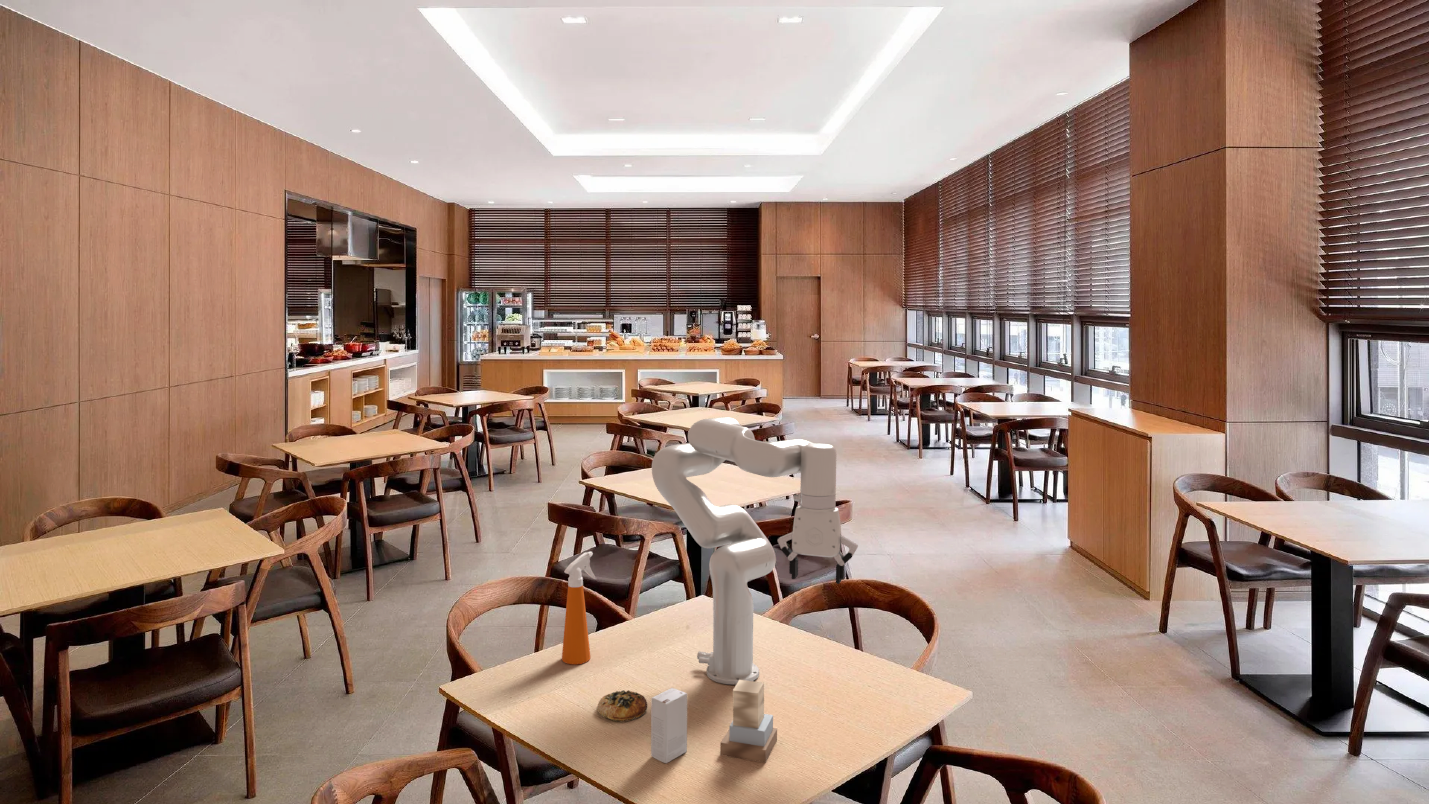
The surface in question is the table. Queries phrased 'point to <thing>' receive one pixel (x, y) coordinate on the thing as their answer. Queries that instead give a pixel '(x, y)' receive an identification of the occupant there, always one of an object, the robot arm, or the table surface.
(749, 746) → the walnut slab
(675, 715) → the skincare box
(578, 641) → the spray bottle
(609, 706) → the bread roll
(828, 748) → the table surface
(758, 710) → the beech block
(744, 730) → the grey slab
